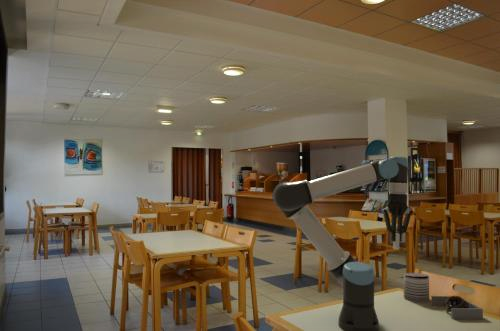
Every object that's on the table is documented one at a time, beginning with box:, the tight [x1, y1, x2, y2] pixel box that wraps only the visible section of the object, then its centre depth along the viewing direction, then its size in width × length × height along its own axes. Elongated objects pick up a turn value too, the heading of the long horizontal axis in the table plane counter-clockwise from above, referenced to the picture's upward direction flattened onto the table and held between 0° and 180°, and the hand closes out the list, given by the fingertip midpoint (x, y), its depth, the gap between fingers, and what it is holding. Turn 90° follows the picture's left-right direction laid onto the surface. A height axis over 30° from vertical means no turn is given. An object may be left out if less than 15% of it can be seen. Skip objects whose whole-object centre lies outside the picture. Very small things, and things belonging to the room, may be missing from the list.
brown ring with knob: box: [445, 295, 469, 314], centre depth 169 cm, size 12×10×8 cm
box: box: [431, 295, 484, 320], centre depth 170 cm, size 12×18×4 cm
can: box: [403, 272, 430, 304], centre depth 188 cm, size 11×11×12 cm
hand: (396, 249), depth 167 cm, fingers closed
